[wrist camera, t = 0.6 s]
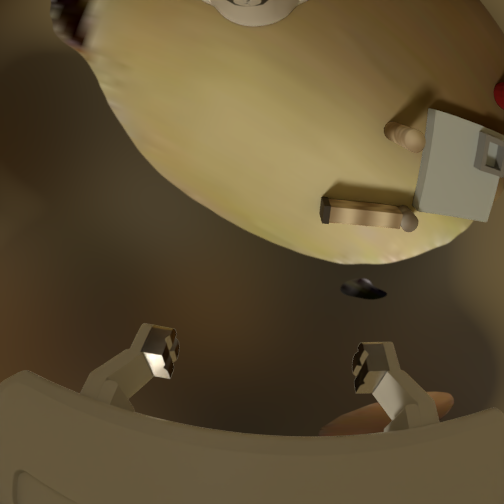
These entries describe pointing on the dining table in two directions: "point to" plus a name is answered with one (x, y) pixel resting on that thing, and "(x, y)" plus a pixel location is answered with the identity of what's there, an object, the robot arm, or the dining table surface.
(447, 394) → the dining table surface
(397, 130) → the leg peg
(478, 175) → the stool seat
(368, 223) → the hinged leg
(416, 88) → the dining table surface
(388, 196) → the dining table surface
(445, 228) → the dining table surface
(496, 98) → the plastic cup
